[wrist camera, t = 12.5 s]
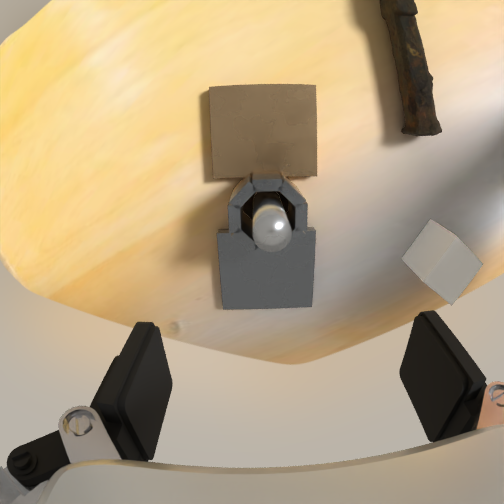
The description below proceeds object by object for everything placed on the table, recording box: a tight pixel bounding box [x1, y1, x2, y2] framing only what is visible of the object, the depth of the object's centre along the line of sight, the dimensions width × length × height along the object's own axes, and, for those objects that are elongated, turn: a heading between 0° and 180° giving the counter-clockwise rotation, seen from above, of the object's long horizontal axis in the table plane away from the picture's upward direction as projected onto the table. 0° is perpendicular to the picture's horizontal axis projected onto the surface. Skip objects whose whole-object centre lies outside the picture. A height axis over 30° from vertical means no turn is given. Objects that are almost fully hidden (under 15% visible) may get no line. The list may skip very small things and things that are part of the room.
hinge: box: [209, 84, 317, 309], centre depth 29 cm, size 10×24×6 cm, turn 2°
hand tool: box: [380, 0, 442, 136], centre depth 24 cm, size 19×4×5 cm, turn 8°
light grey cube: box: [401, 219, 483, 305], centre depth 31 cm, size 6×6×6 cm
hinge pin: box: [253, 191, 292, 252], centre depth 28 cm, size 3×3×10 cm
